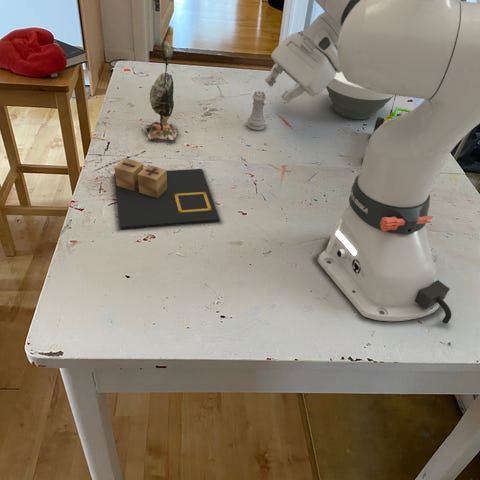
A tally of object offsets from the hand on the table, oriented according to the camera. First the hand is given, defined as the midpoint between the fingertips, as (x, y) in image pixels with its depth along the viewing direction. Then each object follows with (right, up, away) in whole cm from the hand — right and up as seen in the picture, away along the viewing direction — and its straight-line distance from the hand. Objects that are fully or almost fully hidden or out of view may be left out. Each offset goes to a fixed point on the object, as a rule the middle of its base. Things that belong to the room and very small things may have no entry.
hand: (275, 91), depth 111 cm
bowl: (+22, +2, +16) cm, 27 cm away
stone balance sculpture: (-27, -10, -1) cm, 28 cm away
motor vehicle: (+27, -15, +1) cm, 31 cm away
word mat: (-23, -30, -19) cm, 42 cm away
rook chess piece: (-4, -7, +5) cm, 9 cm away
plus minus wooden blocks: (-28, -28, -18) cm, 43 cm away
